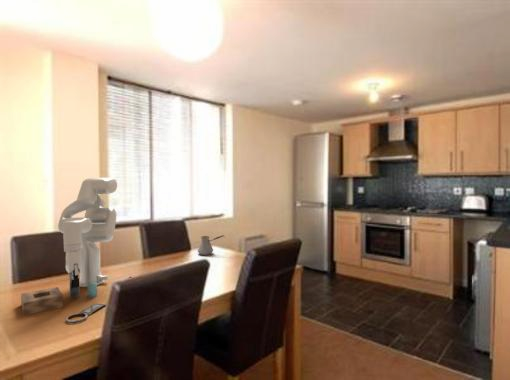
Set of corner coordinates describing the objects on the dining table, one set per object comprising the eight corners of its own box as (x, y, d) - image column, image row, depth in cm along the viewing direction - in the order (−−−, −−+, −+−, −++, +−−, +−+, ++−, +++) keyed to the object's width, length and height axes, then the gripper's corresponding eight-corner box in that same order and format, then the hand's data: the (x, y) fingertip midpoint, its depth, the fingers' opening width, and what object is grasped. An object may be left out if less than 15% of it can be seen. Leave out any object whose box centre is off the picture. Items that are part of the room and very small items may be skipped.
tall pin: (80, 293, 154) (80, 266, 153) (77, 297, 150) (77, 269, 149) (71, 294, 153) (70, 267, 153) (68, 297, 149) (67, 269, 149)
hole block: (58, 297, 153) (57, 287, 153) (63, 306, 142) (62, 295, 142) (21, 304, 144) (21, 293, 144) (23, 315, 133) (23, 303, 133)
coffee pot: (194, 255, 237) (194, 234, 237) (202, 251, 248) (202, 232, 247) (221, 257, 230) (221, 236, 229) (227, 254, 241) (227, 233, 240)
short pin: (98, 294, 157) (97, 282, 157) (95, 297, 153) (95, 284, 153) (89, 294, 157) (89, 282, 157) (86, 297, 153) (86, 285, 153)
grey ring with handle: (110, 306, 143) (110, 302, 143) (78, 325, 125) (78, 320, 125) (94, 305, 145) (94, 300, 145) (60, 324, 126) (60, 319, 126)
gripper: (60, 244, 154) (62, 282, 156) (67, 251, 141) (68, 293, 143) (78, 242, 159) (79, 279, 160) (86, 249, 146) (87, 289, 147)
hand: (74, 285), depth 151 cm, fingers closed on tall pin, 4 cm apart
